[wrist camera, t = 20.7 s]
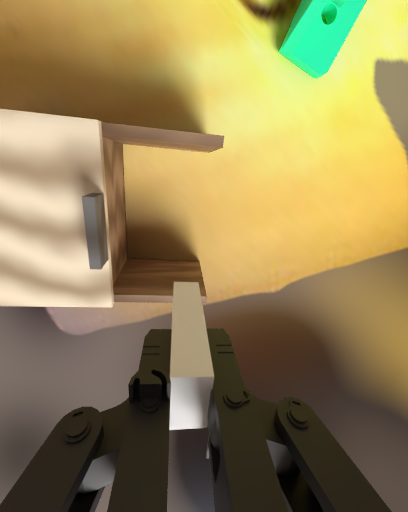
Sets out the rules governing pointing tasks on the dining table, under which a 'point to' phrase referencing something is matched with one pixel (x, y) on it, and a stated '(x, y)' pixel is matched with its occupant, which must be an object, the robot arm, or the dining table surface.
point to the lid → (53, 212)
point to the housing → (123, 269)
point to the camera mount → (319, 33)
